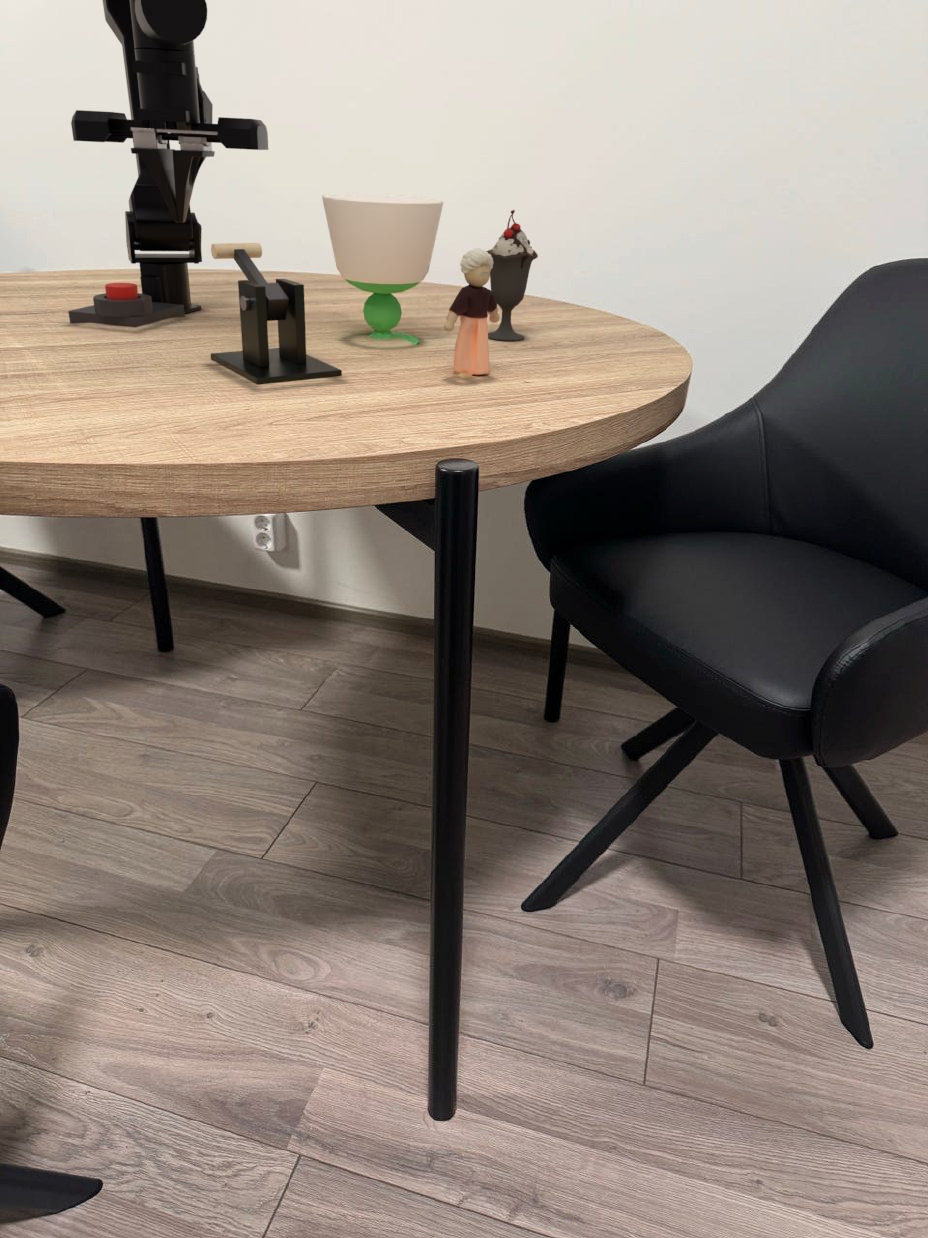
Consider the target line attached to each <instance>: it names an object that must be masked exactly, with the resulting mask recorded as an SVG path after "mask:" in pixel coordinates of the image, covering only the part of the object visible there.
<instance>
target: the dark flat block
mask: <svg viewBox="0 0 928 1238" xmlns="http://www.w3.org/2000/svg"><path fill="white" fill-rule="evenodd" d="M92 301H93V304H92V305H89V306H85V307H79V308H76V309H71V310H68V311H67V312H68V318H69V319H68V320H69V324H71V325H73V324H86V323H87V324H89V323H91V324H100V325H101V324H102V325H109V326H119V327H127V328H128V327H129V328H139V327H142V326H146V325H149V324H153V323H155V322H160V321H163V320H167V319H173V318H185V314H186V313H185V314H184V305H181V304H171V303H158V302H152V299H151V296H149V295H146V294H142V293H140V292H138V298H137V299H129V300H115V299H107V297H106V292H105V293H100V294H95V295H94V296H93V297H92Z"/></svg>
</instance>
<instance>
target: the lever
mask: <svg viewBox="0 0 928 1238" xmlns="http://www.w3.org/2000/svg"><path fill="white" fill-rule="evenodd" d="M210 253H211V257H212V258H213V259H214V260H223V259H224V260H226V259H233V260H234V262H235V263H236V265H237V266H238V267H239V268H240V270H241V271H242V273H243V275H244V276H245V277H246V280H248V281H251V282H254V283H256V284H259V285H262V286H265V291H266V310H267V322H271V321H278V320H286V315H287V309H288V302H289V298H288V297H287V295H286V294H285V292H284V291H283V289H282V288H281V287H280V285H279V284H278V283H276V282H267V280H266V278H264V276H263V274H262V273H261V271H260V270H259V268H258V267H257V266H256V264H255V262H254V261H253V260H252V259H260V258H262V255H263V248H262V245H261V244H260V242H238V243H237V242H235V243H234V242H232V243H229V242H228V243H227V242H226V243H212V244H211V246H210Z"/></svg>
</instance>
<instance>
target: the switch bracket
mask: <svg viewBox="0 0 928 1238" xmlns="http://www.w3.org/2000/svg"><path fill="white" fill-rule="evenodd" d="M275 283H278V284H279V285H280V287H281V288H282V289H283V291H284V292H285V294H286V295H287V297H288V298H289V302H288V309H287V315H286V320H277V336H278V347H273V348H269V331H268V321H267V310H266V291H265V286H262V285H259V284H256V283H254V282H251V281H249V280H248V279H239V280H238V281H237V287H238V302H239V319H240V332H241V345H242V346H241V348H242V350H237V351H236V350H235V351H225V352H223V351H222V352H213V353H210V360H211V361H212V362H215V363H216V364H219V365H221V366H222V367H224V368H226V369H228V370H230V371H231V372H234V373H235V374H237V375H239V376H241V377H242V378H244V379H246V380H248V381H249V382H251V383H253V384H255V385H258V386H259V385H269V384H277V383H288V382H299V381H305V380H317V379H318V380H319V379H327V378H328V379H329V378H335V377H342V375H343V373H342V371H343V370H342V369H340V368H338V367H335V366H333V365H331V364H329V363H327V362H324V361H322V360H319V359H318V358H315V357H313V356H311V355H309V354H307V340H306V338H307V337H306V310H305V309H306V307H305V285H304V284H303V283H300V282H297V281H294V280H290V279H287V278H275Z"/></svg>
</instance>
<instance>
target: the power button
mask: <svg viewBox="0 0 928 1238" xmlns="http://www.w3.org/2000/svg"><path fill="white" fill-rule="evenodd" d="M104 289H105V293H106V297H107V299H115V300H129V299H137V298H138V293H139V291H138V285H137V284H136V283H131V282H110V283H106V284H105V285H104Z"/></svg>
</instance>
